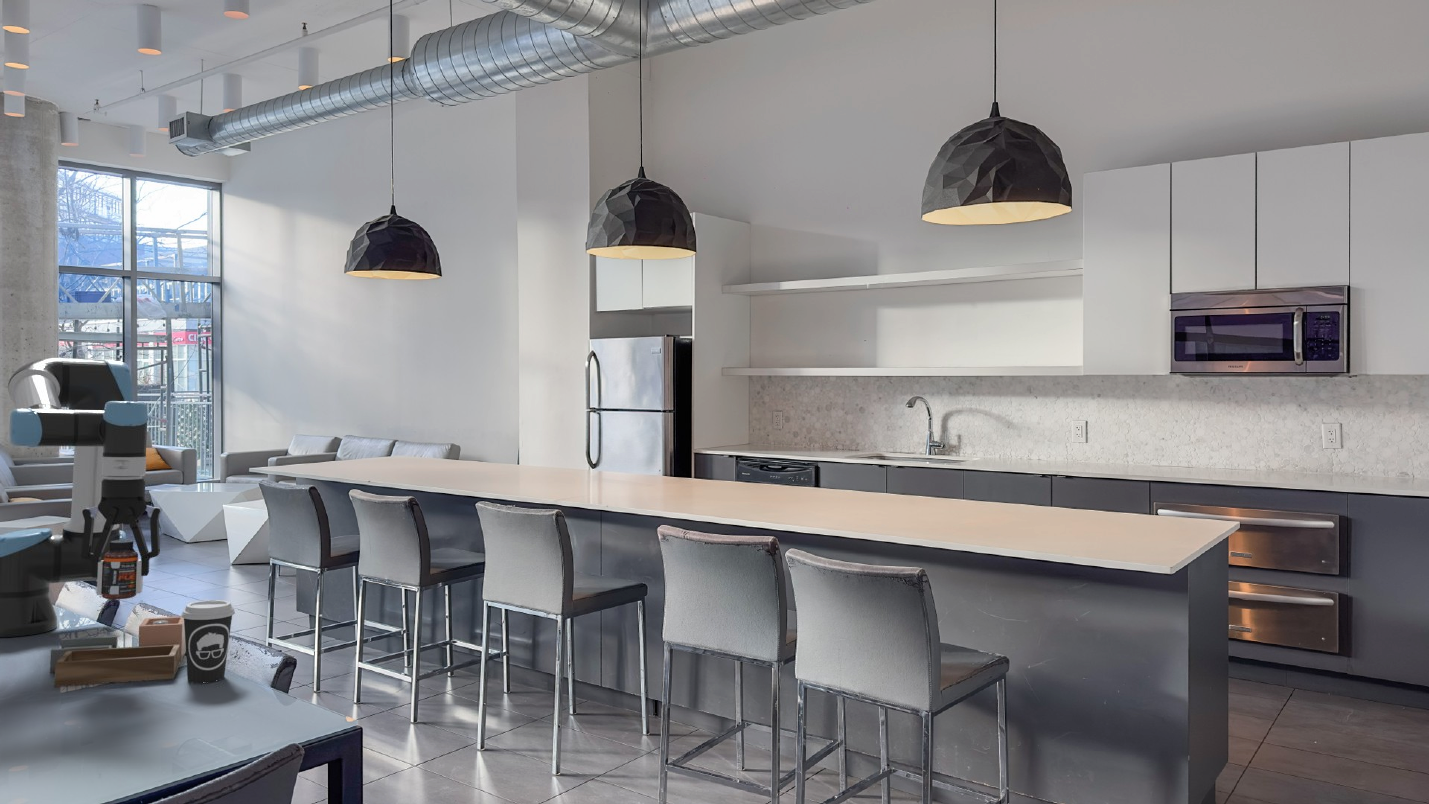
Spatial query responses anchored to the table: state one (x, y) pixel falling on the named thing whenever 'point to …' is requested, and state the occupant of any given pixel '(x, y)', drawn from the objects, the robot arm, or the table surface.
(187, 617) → the coffee cup
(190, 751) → the table surface
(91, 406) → the robot arm
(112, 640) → the cradle base
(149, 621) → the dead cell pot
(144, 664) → the trough
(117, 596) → the supplement bottle
